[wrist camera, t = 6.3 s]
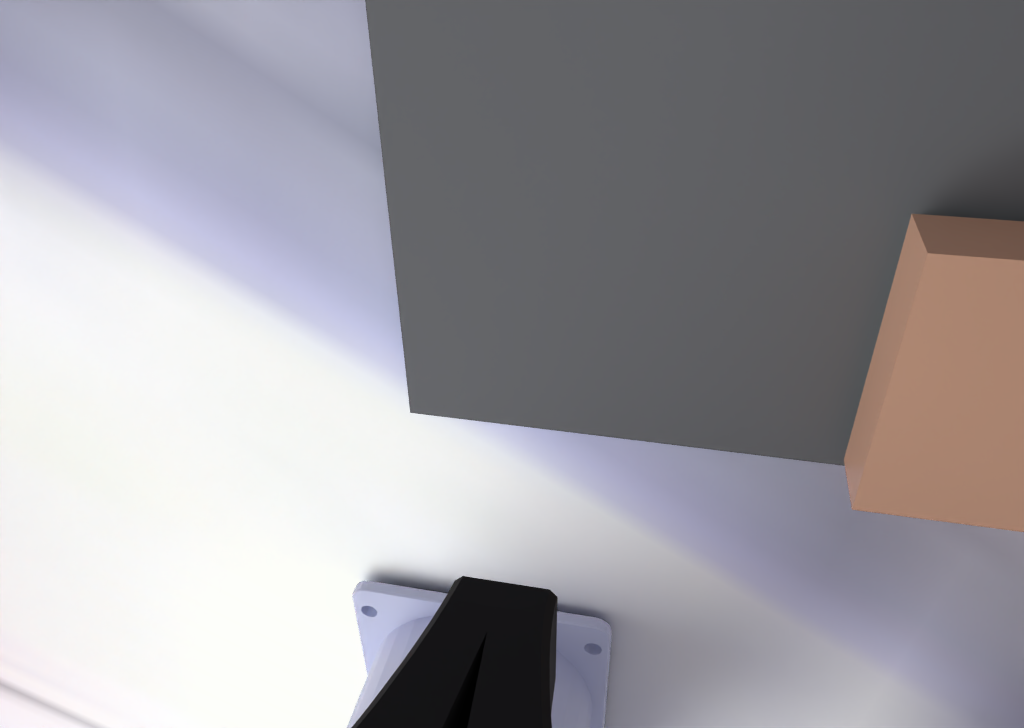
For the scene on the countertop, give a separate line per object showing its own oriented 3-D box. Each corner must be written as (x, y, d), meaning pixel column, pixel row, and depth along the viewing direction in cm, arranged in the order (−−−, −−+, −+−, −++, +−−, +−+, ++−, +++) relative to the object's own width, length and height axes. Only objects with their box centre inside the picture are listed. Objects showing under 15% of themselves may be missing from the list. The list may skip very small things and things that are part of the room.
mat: (1148, 491, 19) (1155, 503, 18) (415, 403, 22) (410, 412, 21) (1504, -138, 12) (1527, -136, 11) (358, -136, 15) (350, -134, 15)
